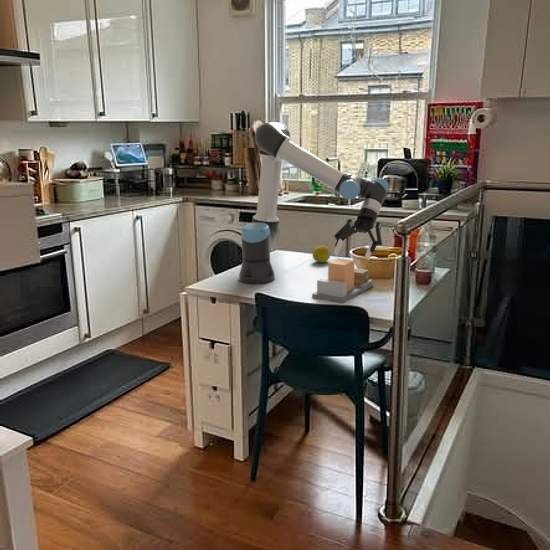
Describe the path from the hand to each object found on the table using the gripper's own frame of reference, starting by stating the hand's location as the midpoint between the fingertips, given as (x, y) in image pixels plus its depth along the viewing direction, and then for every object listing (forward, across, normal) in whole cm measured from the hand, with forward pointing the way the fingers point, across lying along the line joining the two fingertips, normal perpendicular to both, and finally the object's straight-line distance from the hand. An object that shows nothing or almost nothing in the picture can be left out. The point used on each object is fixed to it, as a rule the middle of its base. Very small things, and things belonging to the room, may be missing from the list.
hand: (350, 256), depth 215 cm
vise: (+12, +1, -6) cm, 14 cm away
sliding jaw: (+5, +1, -12) cm, 13 cm away
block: (+13, +1, -4) cm, 13 cm away
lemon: (-12, +31, -32) cm, 46 cm away
